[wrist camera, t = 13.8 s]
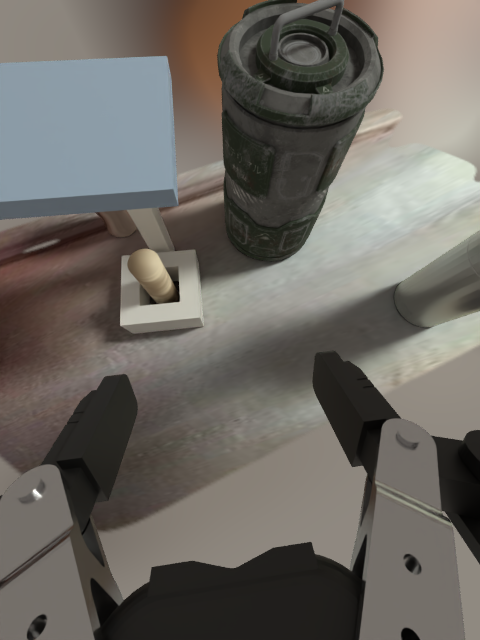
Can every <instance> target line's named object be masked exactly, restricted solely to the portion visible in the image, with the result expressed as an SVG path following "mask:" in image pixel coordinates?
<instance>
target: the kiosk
mask: <svg viewBox="0 0 480 640" xmlns="http://www.w3.org/2000/svg"><path fill="white" fill-rule="evenodd" d="M173 119H174V118H173V100H172V82H171V74H170V69H169V64H168V59H167V56H156V57H133V58H109V59H87V60H63V61H39V62H16V63H0V220H2V219H14V218H28V217H41V216H54V215H67V214H80V213H93V212H106V211H119V210H127V211H128V213H129V215H130V216H131V218H132V220H133V221H134V223H135V225H136V227H137V228H138V230H139V232H140V233H141V235H142V237H143V239H144V240H145V242H146V244H147V245H148V247H149V249H150V250H153V251H155V252H156V253H157V254H158V256H159V258H160V260H161V261H162V263H163V265H164V267H165V269H166V271H167V272H168V274H169V276H170V278H171V280H172V282H173V281H179V289H180V302H174V303H164V304H154V305H150V295H149V294H148V292H147V291H146V290H145V289H144V288H143V286H142V285H141V284H140V283H139V282H138V281H137V279H136V278H135V277H134V276H133V275H132V274H131V272H130V271H129V269H128V266H127V263H128V259H129V257H130V256H131V255H125V256H122V265H121V308H120V326H121V327H123V328H125V329H126V330H128V331H130V332H131V333H133V334H137V333H146V332H156V331H165V330H175V329H184V328H193V327H203V326H204V322H203V309H202V296H201V283H200V270H199V263H198V259H197V255H196V252H195V249H194V250H182V251H175V250H174V246H173V243H172V241H171V238H170V236H169V233H168V231H167V228H166V226H165V224H164V221H163V219H162V216H161V214H160V211H159V209H158V207H170V206H178V192H177V173H176V155H175V137H174V120H173Z"/></svg>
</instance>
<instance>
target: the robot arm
mask: <svg viewBox="0 0 480 640" xmlns="http://www.w3.org/2000/svg"><path fill="white" fill-rule="evenodd" d="M394 300H395V305H396V307H397V309H398V311H399V313H400V314H401V315H402V316H403V317H404V318H405V319H406V320H407V321H409V322H410V323H412V324H414V325H417V326H420V327H433V326H436V325H439V324H442V323H445V322H448V321H451V320H454V319H457V318H460V317H463V316H466V315H469V314H472V313H475V312H478V311H480V230H479V231H478V232H476V233H475V234H473V235H472V236H470V237H469V238H467V239H466V240H464V241H463V242H461V243H460V244H458V245H457V246H455V247H454V248H452V249H451V250H449V251H448V252H446V253H445V254H443V255H442V256H440V257H439V258H437V259H436V260H434V261H433V262H431V263H430V264H428V265H427V266H425V267H424V268H422V269H421V270H419V271H417V272H416V273H414V274H413V275H411V276H410V277H408V278H407V279H405V280H404V281H402V282H401V283H400V284H399V285H398V287H397V288H396V290H395V294H394ZM313 388H314V391H315V394H316V396H317V398H318V400H319V402H320V404H321V406H322V408H323V410H324V412H325V414H326V416H327V418H328V420H329V422H330V424H331V426H332V428H333V430H334V432H335V434H336V436H337V438H338V440H339V442H340V444H341V446H342V448H343V450H344V452H345V454H346V456H347V458H348V460H349V462H350V464H351V466H352V467H356V466H364V468H365V470H366V472H367V477H366V481H365V487H364V494H363V500H362V506H361V513H360V519H359V525H358V531H357V536H356V541H355V545H354V549H353V554H352V559H351V565H350V570H349V569H347V568H346V567H344V566H343V565H341V564H339V563H337V562H335V561H334V560H332V559H329V558H326V557H324V556H320V555H316V554H315V553H314V550H313V546H312V543H311V542H307V543H301V544H295V545H288V546H283V547H276V548H272V549H270V550H268V551H267V552H265V553H263V554H261V555H259V556H257V557H255V558H254V559H252V560H250V561H248V562H246V563H244V564H243V565H241V566H239V567H237V568H225V567H220V566H215V565H210V564H206V563H200V562H195V561H188V562H181V563H175V564H170V565H163V566H156V567H152V569H151V576H150V581H149V582H148V583H146V584H144V585H143V586H142V587H140V588H139V589H137V590H136V591H135V592H133V593H132V594H131V595H130V596H129V597H127V598H126V599H125V600H123V597H122V594H121V592H120V590H119V587H118V585H117V583H116V581H115V580H114V578H113V576H112V573H111V571H110V568H109V565H108V562H107V560H106V556H105V554H104V550H103V547H102V544H101V541H100V538H99V535H98V532H97V529H96V526H95V523H94V520H93V517H92V515H91V512H92V509H93V507H94V504H95V502H101V501H108V500H109V497H110V494H111V491H112V488H113V485H114V482H115V479H116V476H117V473H118V470H119V467H120V464H121V461H122V458H123V455H124V452H125V449H126V446H127V443H128V440H129V437H130V434H131V431H132V428H133V425H134V422H135V419H136V416H137V410H138V406H137V400H136V397H135V395H134V392H133V389H132V387H131V384H130V381H129V378H128V376H127V375H126V374H122V375H113V376H106V377H104V378H103V380H102V382H101V383H100V385H99V387H98V389H97V390H93V391H91V392H90V393H89V394H88V395H87V396H86V397H84V398H83V399H82V400H81V401H80V403H79V404H78V406H77V408H76V409H75V411H74V412H73V415H72V416H71V417H70V419H69V420H68V422H67V425H65V427H64V429H63V430H62V432H61V433H60V435H59V437H58V438H57V440H56V441H55V443H54V445H53V446H52V448H51V449H50V451H49V453H48V454H47V456H46V457H45V459H44V461H43V462H42V464H41V465H40V466H38V467H36V468H33V469H31V470H29V471H28V472H26V473H24V474H23V475H22V476H20V477H19V478H18V479H17V480H15V481H14V482H13V483H12V484H11V485H10V486H9V488H8V489H7V490H6V492H5V493H4V494H3V495H1V496H0V640H465V632H464V623H463V614H462V605H461V595H460V586H459V578H458V568H457V559H456V549H455V540H454V532H453V527H452V524H451V522H452V523H453V525H454V526H455V528H456V529H457V531H458V532H459V534H460V535H461V537H462V538H463V540H464V541H465V543H466V544H467V546H468V547H469V549H470V550H471V552H472V553H473V555H474V556H475V558H476V559H477V561H478V562H479V564H480V430H474V431H470V432H469V433H467V434H466V436H465V438H464V440H463V441H461V440H455V439H448V438H442V437H435V436H431V435H430V434H429V433H428V432H426V430H424V429H423V428H421V427H420V426H419V425H417V424H415V423H413V422H411V421H408V420H404V419H401V418H400V417H399V415H398V414H397V413H396V412H395V410H394V409H393V408H392V407H391V406H390V404H389V403H388V402H387V401H386V400H385V398H384V397H383V396H382V395H381V393H380V392H379V391H378V390H377V389H376V387H375V388H374V385H373V384H372V382H371V381H370V380H368V378H367V376H366V375H365V374H364V373H363V372H362V370H361V369H360V368H358V367H357V366H355V365H354V364H352V363H351V362H349V361H346V362H343V360H342V359H341V358H340V356H339V355H338V354H337V353H336V352H335V351H328V352H319V353H316V355H315V362H314V372H313ZM442 511H445V513H446V514H447V516H448V517H449V519H450V520H451V522H450V520H449V519H448V518H447V517H445V516H443V514H442Z"/></svg>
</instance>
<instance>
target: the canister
mask: <svg viewBox="0 0 480 640" xmlns="http://www.w3.org/2000/svg"><path fill="white" fill-rule="evenodd" d="M333 6H336V9H335V10H332V9H328V8H331V7H333ZM343 6H344V0H318V1H316V2H313V3H311V4H303V3H297V0H268V1H265V2H261V3H258V4H256V5H254V6H252V7H249V8H248V9H246V10H245V11H244V14H243V18H242V20H241V21H239V22H238V23H237V24H235V25H234V26H233V27H231V28H230V30H229V31H228V32H227V33H226V34H225V35H224V37H223V39H222V41H221V43H220V45H219V49H218V55H217V56H218V57H217V58H218V70H219V76H220V78H221V80H222V110H223V112H222V131H223V157H224V166H225V169H226V170H225V177H224V209H225V223H226V231H227V234H228V237H229V239H230V240H231V242H232V243H233V245H234V246H235V247H236V248H237V249H238V250H239V251H241V252H242V253H244V254H245V255H248V256H250V257H252V258H255V259H259V260H267V261H277V260H281V259H285V258H287V257H289V256H291V255H293V254H295V253H296V252H297V251H299V250H300V249H301V247H302V246H303V245H304V244H305V242H306V240H307V238H308V237H309V235H310V233H311V230H312V228H313V226H314V224H315V222H316V220H317V218H318V216H319V214H320V212H321V209H322V207H323V205H324V202H325V199H326V195H327V192H328V188H329V185H331V183H332V182H333V180H334V179H335V177H336V175H337V173H338V171H339V169H340V167H341V164H342V162H343V160H344V158H345V156H346V154H347V152H348V150H349V147H350V145H351V143H352V141H353V139H354V137H355V135H356V133H357V130H358V128H359V126H360V124H361V122H362V119H363V117H364V113H365V107H366V106H367V104H368V103H369V102H370V101H371V100H372V99H373V98H374V96H375V94H376V91H377V90H378V88H379V86H380V83H381V81H382V77H383V72H384V68H383V60H382V57H381V55H380V53H379V50H378V47H377V46H378V37H377V36H376V34H375V33H374V31H373V30H372V29H371V28H370V27H369V25H368V24H367V23H365V22H364V21H363V20H362V19H361V18H360V17H358V16H357V15H355V14H353V13H352V12H350V11H349V10H346V9H345V8H343Z"/></svg>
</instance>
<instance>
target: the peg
mask: <svg viewBox="0 0 480 640" xmlns="http://www.w3.org/2000/svg"><path fill="white" fill-rule="evenodd" d="M127 266H128V269H129V271H130V272H131V274H132V275H133V276H134V277H135V278H136V279H137V281H138V282H139V283H140V284H141V285H142V286H143V288H144V289H145V290H146V291H147V292H148V294H149V295H150V296H151V297H152V298H153V299H154V301H155V302H156V303H157V304H164V303H174V302H179V301H180V295H179V293H178V291H177V289H176V287H175V285H174V283H173V282H172V280H171V278H170V276H169V274H168V272H167V271H166V269H165V267H164V265H163V263H162V261H161V260H160V258H159V256H158V254H157V253H156V252H155V251H153V250H150V249H140V250H137V251H135V252H134V253H133V254H132V255H131V256H130V257H129V259H128V263H127Z"/></svg>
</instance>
